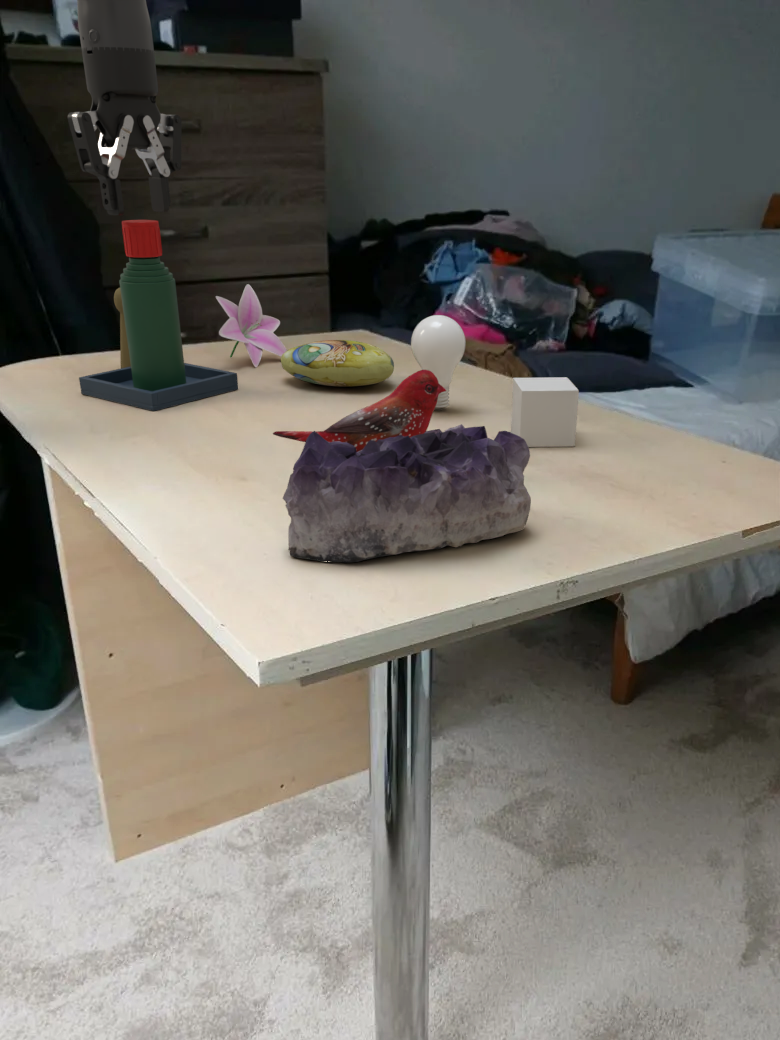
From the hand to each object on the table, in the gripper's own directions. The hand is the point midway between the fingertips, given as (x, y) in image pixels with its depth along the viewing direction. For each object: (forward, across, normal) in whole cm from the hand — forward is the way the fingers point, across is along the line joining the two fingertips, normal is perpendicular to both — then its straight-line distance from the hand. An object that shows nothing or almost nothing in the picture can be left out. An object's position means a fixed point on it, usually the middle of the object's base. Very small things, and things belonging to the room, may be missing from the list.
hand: (138, 212), depth 110 cm
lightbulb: (+21, -14, +33) cm, 42 cm away
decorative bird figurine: (+21, +12, +43) cm, 49 cm away
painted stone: (+21, -17, +15) cm, 31 cm away
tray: (+21, 0, 0) cm, 21 cm away
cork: (+21, -7, -12) cm, 25 cm away
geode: (+21, +20, +54) cm, 62 cm away
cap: (+5, 0, 0) cm, 5 cm away
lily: (+21, -20, -4) cm, 29 cm away
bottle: (+20, 0, 0) cm, 20 cm away
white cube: (+21, -11, +49) cm, 55 cm away
